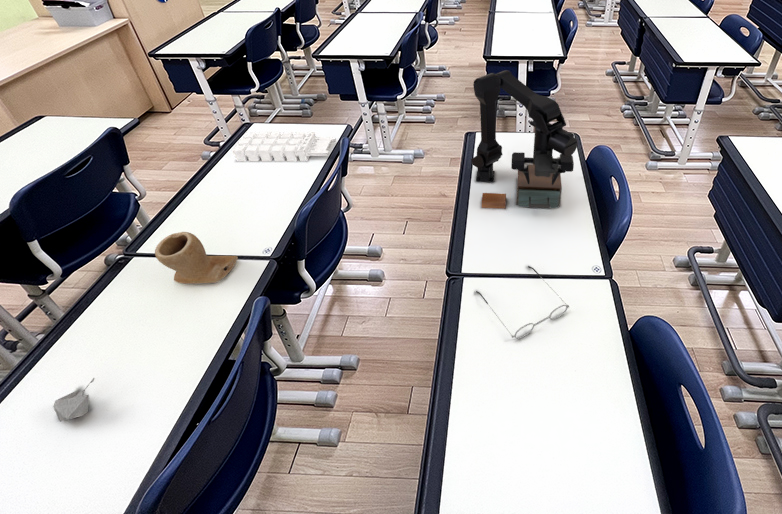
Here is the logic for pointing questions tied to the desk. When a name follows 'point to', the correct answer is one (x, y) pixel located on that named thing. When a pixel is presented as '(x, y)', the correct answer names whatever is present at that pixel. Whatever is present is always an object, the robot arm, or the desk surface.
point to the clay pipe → (192, 259)
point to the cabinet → (537, 182)
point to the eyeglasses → (537, 322)
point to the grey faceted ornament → (72, 405)
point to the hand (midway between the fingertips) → (540, 183)
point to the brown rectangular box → (493, 200)
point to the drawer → (538, 198)
